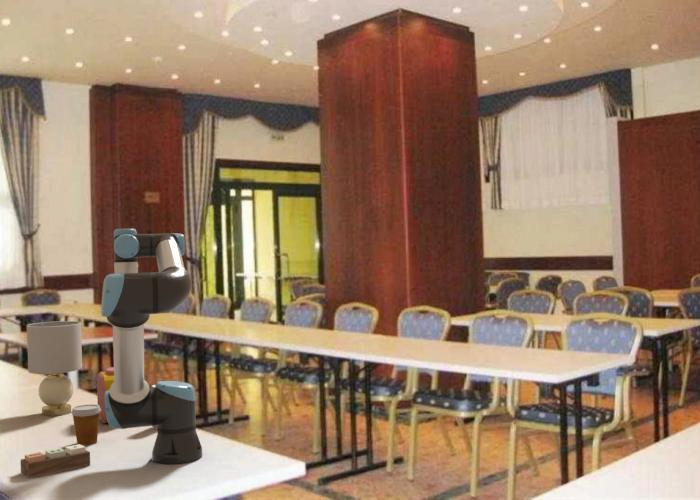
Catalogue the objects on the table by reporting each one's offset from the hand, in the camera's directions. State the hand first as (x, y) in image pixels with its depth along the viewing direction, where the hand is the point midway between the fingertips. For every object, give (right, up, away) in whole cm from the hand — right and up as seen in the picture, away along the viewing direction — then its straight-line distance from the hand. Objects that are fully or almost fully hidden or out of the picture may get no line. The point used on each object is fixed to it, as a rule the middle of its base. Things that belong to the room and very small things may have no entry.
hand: (128, 345), depth 263 cm
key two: (-13, -32, -29) cm, 45 cm away
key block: (-13, -33, -29) cm, 46 cm away
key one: (-9, -32, -25) cm, 42 cm away
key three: (-18, -33, -33) cm, 50 cm away
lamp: (-42, -33, +48) cm, 72 cm away
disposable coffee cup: (-14, -33, +1) cm, 36 cm away
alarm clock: (-15, -32, +34) cm, 49 cm away
